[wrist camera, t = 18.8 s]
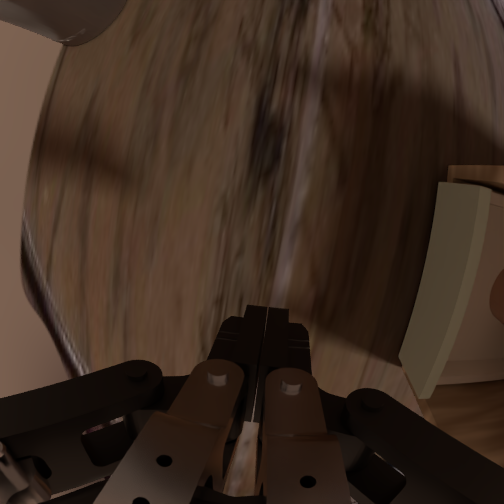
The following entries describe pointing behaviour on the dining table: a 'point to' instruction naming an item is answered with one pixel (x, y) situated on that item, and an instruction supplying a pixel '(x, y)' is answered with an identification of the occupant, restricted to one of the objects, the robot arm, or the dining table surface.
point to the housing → (477, 393)
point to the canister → (498, 298)
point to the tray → (458, 293)
